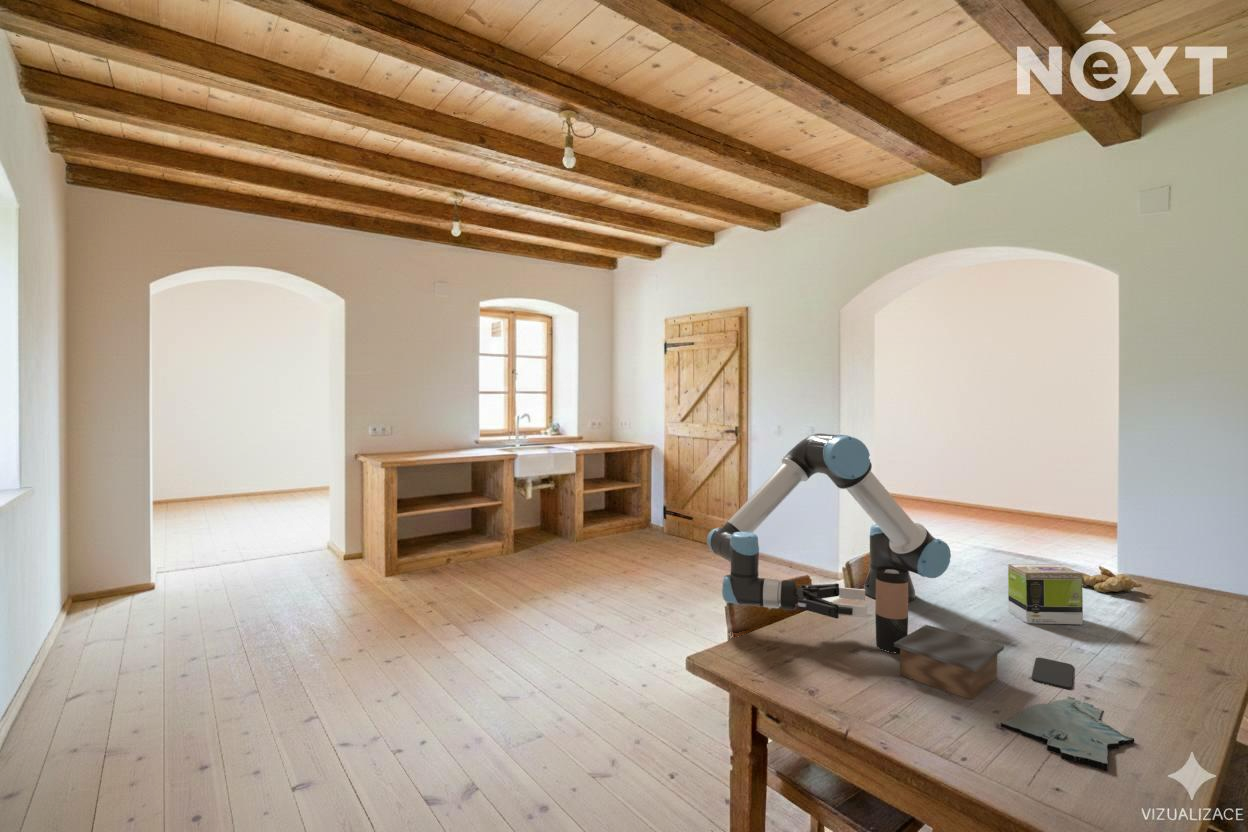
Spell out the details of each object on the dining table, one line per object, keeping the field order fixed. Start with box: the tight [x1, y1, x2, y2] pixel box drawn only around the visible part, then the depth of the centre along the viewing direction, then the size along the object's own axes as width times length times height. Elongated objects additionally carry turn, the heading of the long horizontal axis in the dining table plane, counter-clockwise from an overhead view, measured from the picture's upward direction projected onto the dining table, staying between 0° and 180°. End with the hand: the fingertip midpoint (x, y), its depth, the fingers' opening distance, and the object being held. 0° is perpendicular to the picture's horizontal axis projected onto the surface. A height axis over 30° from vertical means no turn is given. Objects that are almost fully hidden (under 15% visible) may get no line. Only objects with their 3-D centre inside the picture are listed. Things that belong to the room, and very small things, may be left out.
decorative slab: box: [1000, 696, 1135, 772], centre depth 115 cm, size 26×24×2 cm
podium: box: [894, 624, 1005, 700], centre depth 137 cm, size 17×17×7 cm
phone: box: [1031, 657, 1074, 690], centre depth 139 cm, size 7×1×15 cm
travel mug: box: [874, 566, 909, 654], centre depth 153 cm, size 8×8×20 cm
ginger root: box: [1078, 565, 1143, 594], centre depth 198 cm, size 16×16×8 cm
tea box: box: [1007, 563, 1084, 626], centre depth 173 cm, size 15×10×15 cm
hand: (866, 603), depth 155 cm, fingers open, 13 cm apart
